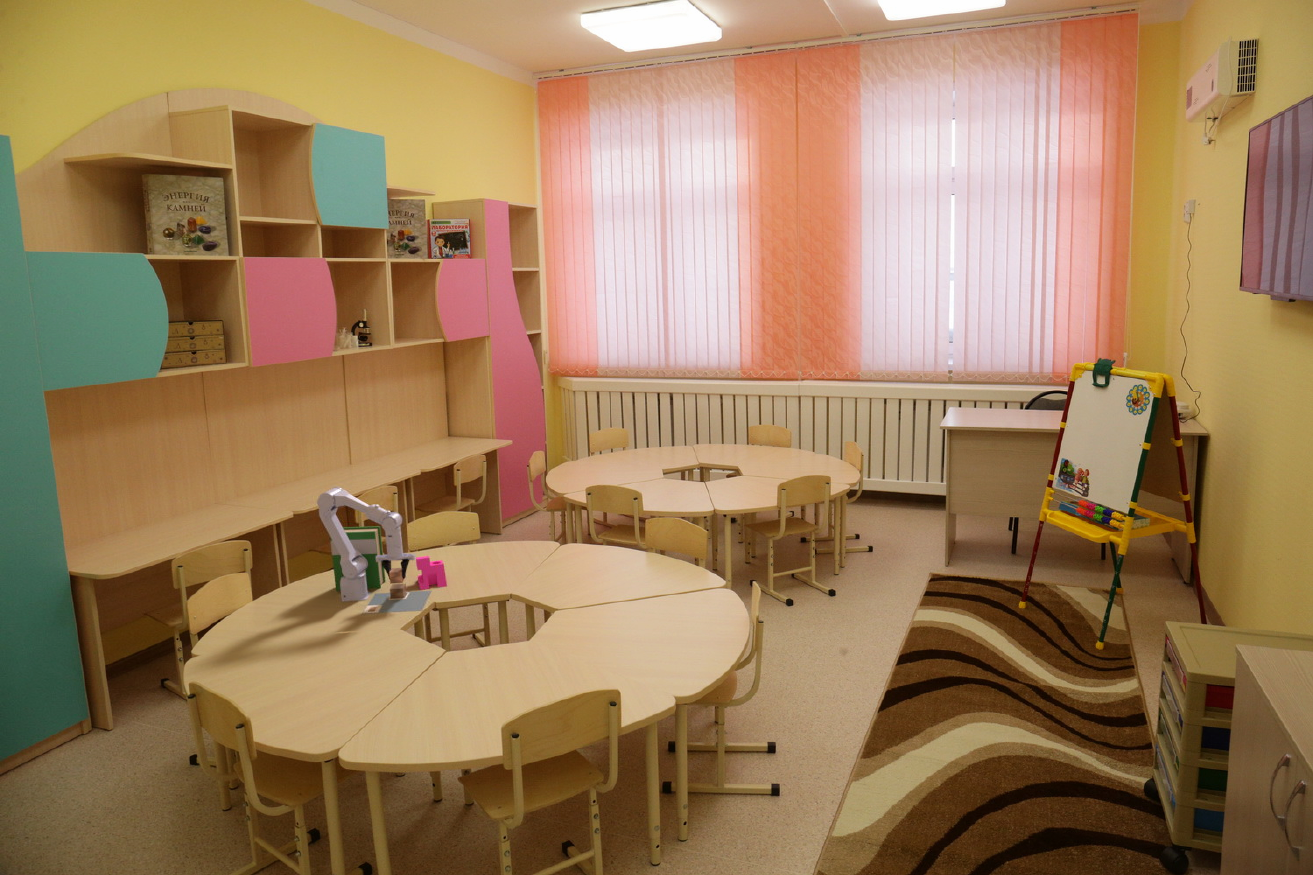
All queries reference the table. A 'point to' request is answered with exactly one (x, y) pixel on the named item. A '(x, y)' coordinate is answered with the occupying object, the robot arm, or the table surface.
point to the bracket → (430, 572)
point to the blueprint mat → (397, 602)
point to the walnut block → (398, 591)
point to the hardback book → (369, 547)
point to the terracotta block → (396, 575)
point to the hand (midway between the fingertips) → (397, 578)
